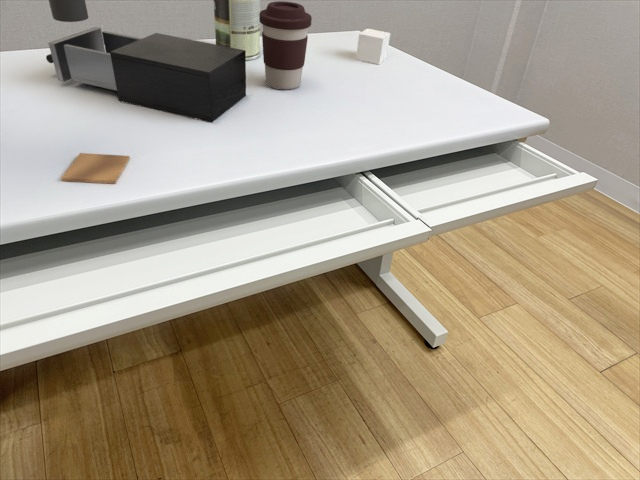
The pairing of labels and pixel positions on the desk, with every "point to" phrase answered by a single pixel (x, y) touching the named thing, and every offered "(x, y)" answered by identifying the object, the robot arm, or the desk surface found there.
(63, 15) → the canister
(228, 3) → the coffee can
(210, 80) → the cabinet
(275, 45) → the coffee cup
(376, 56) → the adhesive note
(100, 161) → the pad
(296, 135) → the desk surface
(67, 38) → the drawer
